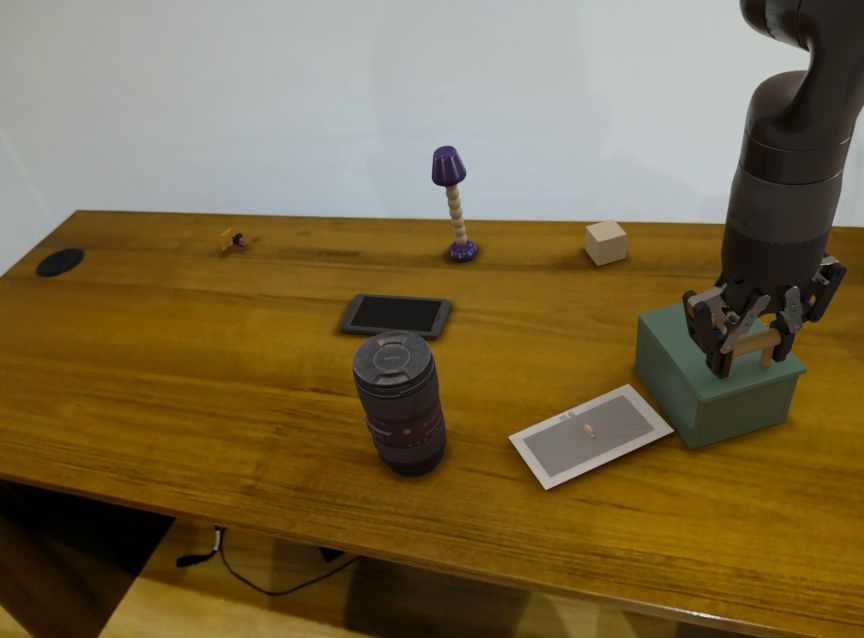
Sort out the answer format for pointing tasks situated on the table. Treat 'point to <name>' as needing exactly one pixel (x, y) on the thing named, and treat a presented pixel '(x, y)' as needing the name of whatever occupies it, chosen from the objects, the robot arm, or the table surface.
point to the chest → (713, 417)
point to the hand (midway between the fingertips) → (746, 363)
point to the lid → (748, 359)
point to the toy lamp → (453, 199)
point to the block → (605, 242)
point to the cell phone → (396, 315)
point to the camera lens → (401, 401)
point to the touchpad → (589, 435)
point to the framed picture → (232, 239)
